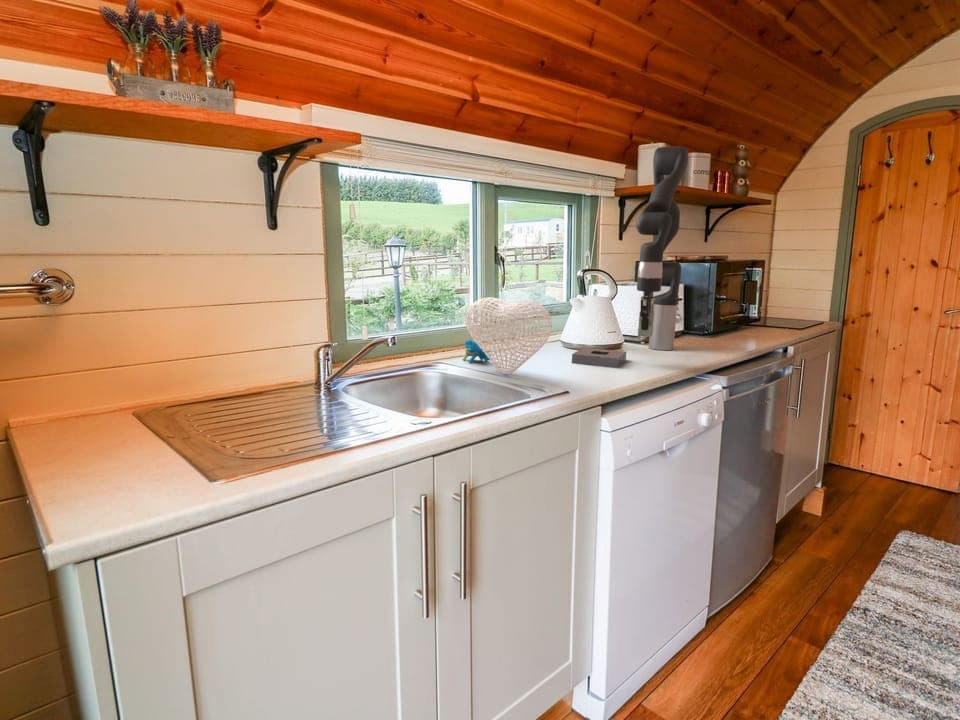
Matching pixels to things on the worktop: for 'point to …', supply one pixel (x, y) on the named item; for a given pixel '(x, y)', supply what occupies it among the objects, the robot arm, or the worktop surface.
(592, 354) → the hole block
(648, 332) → the peg
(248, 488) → the worktop surface
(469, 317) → the heart
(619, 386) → the worktop surface
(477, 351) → the blue irregular piece
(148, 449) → the worktop surface
